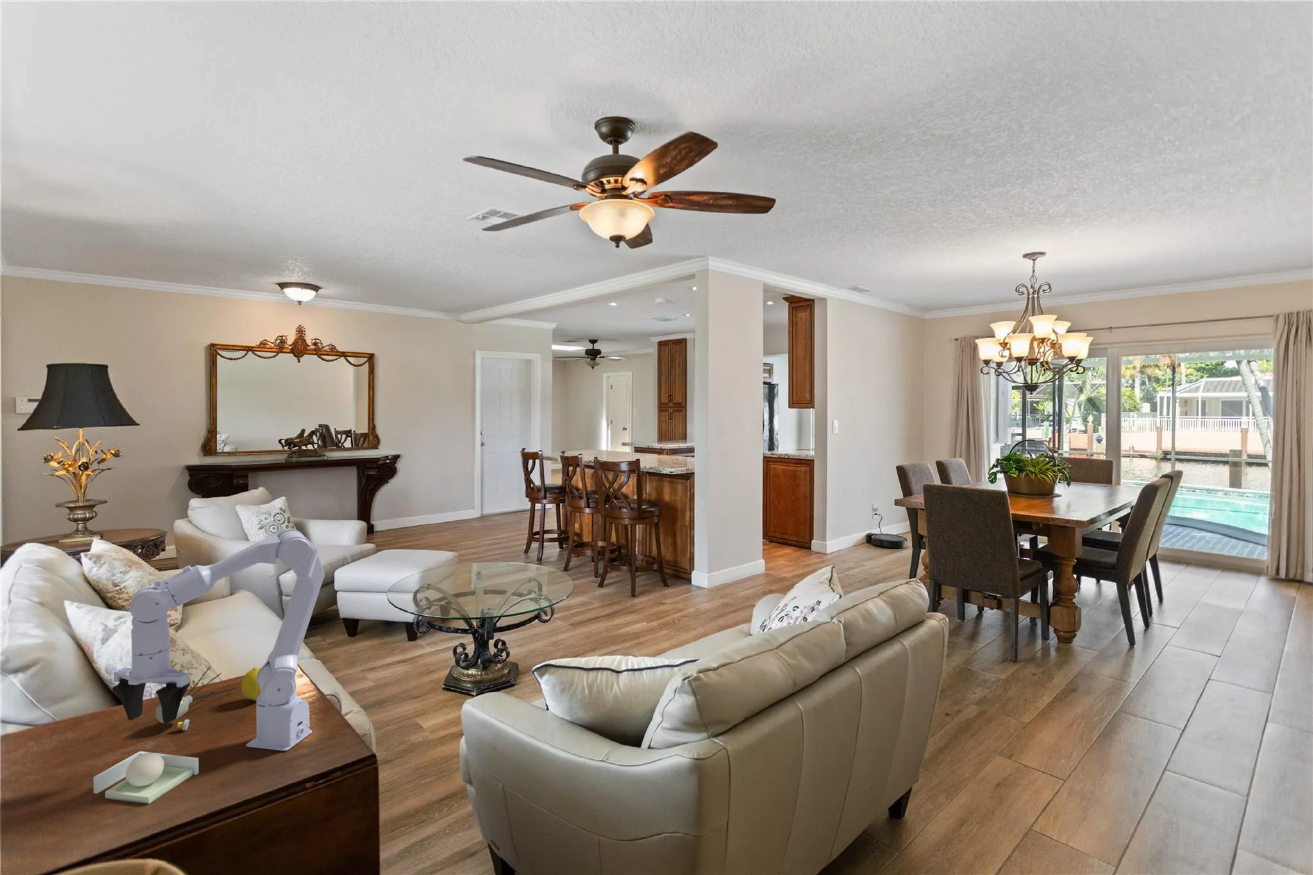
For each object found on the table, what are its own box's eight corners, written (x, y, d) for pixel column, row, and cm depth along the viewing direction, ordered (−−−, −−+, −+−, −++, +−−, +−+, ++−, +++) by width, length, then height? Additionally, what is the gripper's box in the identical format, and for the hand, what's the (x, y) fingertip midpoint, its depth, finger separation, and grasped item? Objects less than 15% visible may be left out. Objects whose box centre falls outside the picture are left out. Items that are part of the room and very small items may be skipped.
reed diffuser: (154, 693, 138) (218, 656, 158) (134, 716, 138) (201, 677, 158) (190, 723, 138) (250, 683, 158) (171, 747, 138) (233, 704, 158)
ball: (176, 770, 121) (165, 743, 121) (149, 788, 116) (138, 759, 116) (151, 779, 122) (141, 751, 122) (123, 796, 116) (113, 767, 116)
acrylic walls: (198, 773, 123) (198, 757, 123) (156, 801, 114) (155, 784, 114) (140, 766, 125) (139, 751, 125) (93, 793, 116) (93, 777, 116)
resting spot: (192, 775, 122) (192, 769, 122) (148, 803, 114) (148, 797, 113) (151, 770, 124) (151, 764, 124) (105, 798, 115) (105, 791, 115)
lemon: (259, 706, 151) (259, 672, 150) (236, 705, 151) (235, 672, 150) (273, 695, 156) (273, 663, 156) (251, 694, 156) (251, 662, 156)
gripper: (97, 655, 119) (98, 726, 120) (166, 660, 117) (167, 732, 118) (132, 641, 126) (134, 708, 127) (198, 646, 124) (199, 714, 125)
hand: (152, 719), depth 123 cm, fingers open, 7 cm apart
